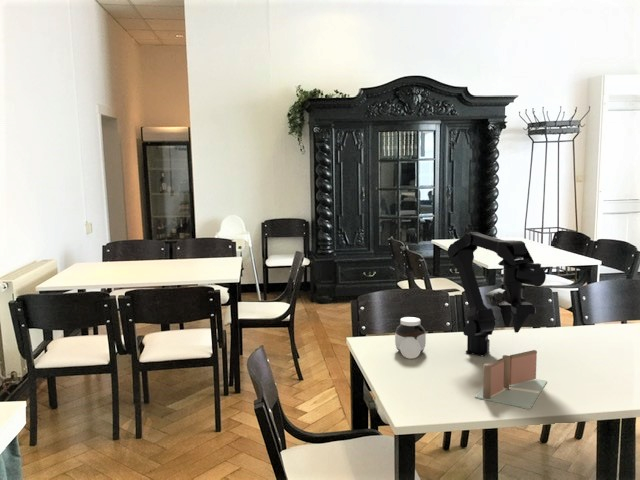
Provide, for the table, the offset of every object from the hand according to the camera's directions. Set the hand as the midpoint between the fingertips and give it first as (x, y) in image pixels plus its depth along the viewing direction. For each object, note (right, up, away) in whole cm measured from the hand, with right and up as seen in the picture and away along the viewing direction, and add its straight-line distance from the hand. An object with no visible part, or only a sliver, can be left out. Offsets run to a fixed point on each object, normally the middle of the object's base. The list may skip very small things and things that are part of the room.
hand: (511, 329), depth 169 cm
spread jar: (-29, -11, +15) cm, 35 cm away
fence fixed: (-11, -15, -20) cm, 27 cm away
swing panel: (-3, -13, -14) cm, 20 cm away
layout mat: (-6, -14, -17) cm, 23 cm away
